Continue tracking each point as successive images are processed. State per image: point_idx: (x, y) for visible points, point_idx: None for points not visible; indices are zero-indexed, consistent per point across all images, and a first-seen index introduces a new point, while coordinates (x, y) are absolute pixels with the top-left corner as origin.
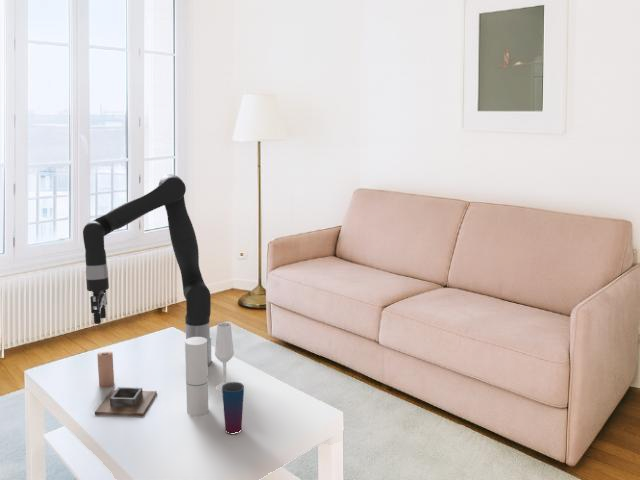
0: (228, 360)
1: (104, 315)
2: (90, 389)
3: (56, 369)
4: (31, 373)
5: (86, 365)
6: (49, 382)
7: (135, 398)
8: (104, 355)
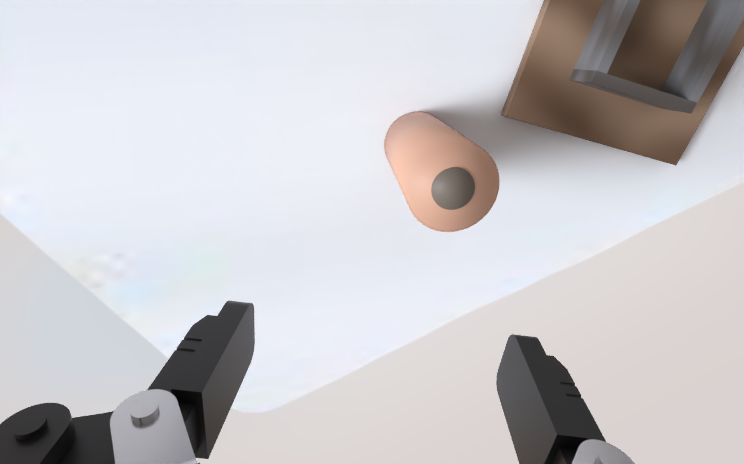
0: None
1: (243, 328)
2: None
3: None
4: (266, 408)
5: (201, 250)
6: (351, 346)
7: None
8: (480, 188)
